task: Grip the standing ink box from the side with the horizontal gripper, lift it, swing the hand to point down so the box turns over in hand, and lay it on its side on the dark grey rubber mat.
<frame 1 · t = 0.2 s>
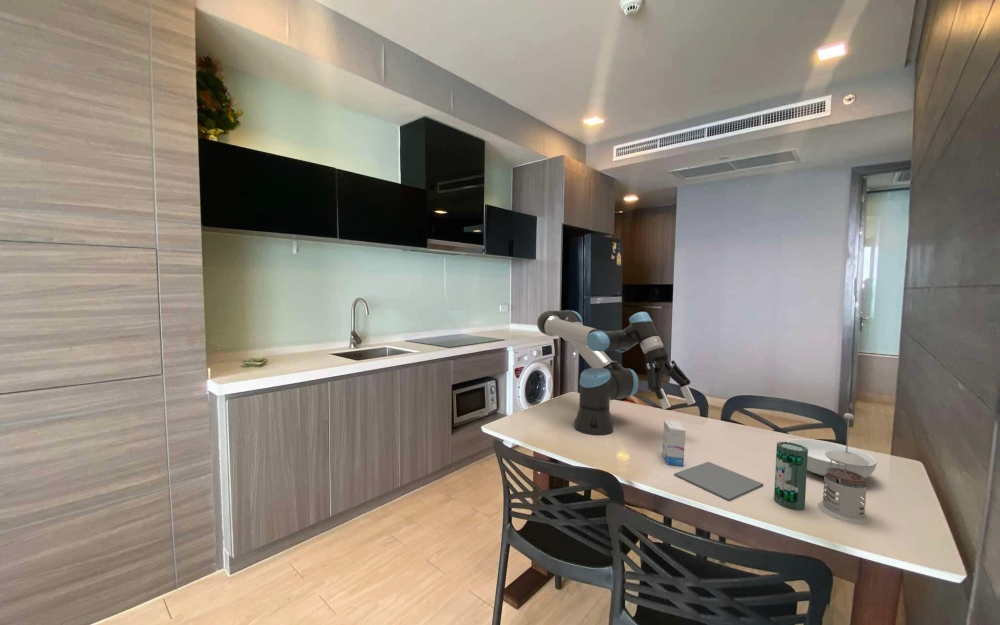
hand: (679, 406, 133), 15 cm above the table, tool tilted 35°, fingers open, 13 cm apart
serving bowl: (827, 473, 117), on the table
can: (789, 504, 99), on the table
french press: (841, 511, 96), on the table
ink box: (672, 460, 124), on the table
rubber mat: (717, 480, 110), on the table
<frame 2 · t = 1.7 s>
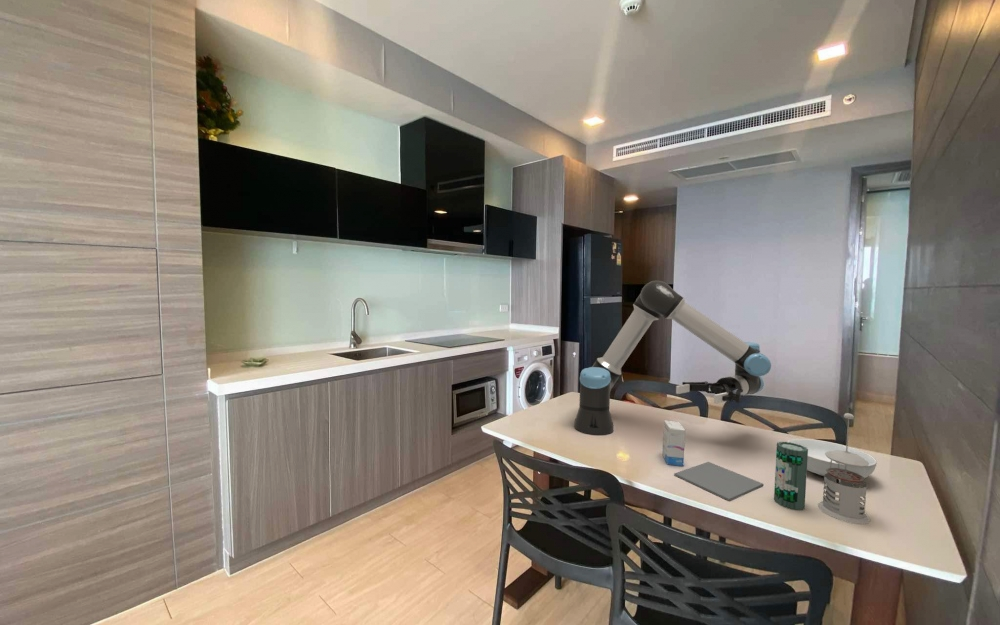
hand: (695, 394, 128), 20 cm above the table, tool horizontal, fingers open, 13 cm apart
nothing on the table moved.
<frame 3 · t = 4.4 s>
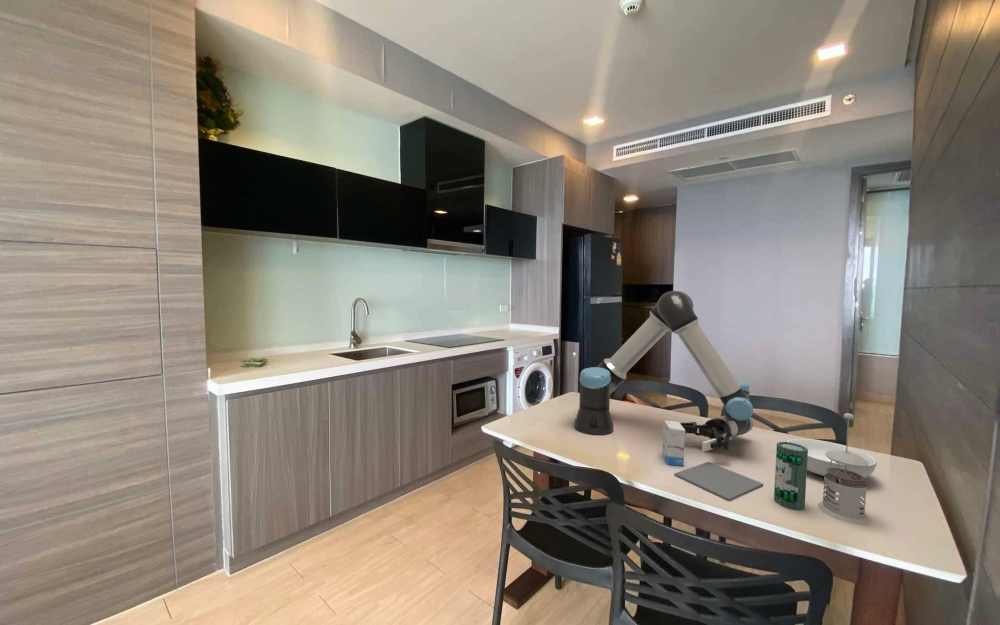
hand: (683, 439, 125), 6 cm above the table, tool horizontal, fingers open, 13 cm apart
nothing on the table moved.
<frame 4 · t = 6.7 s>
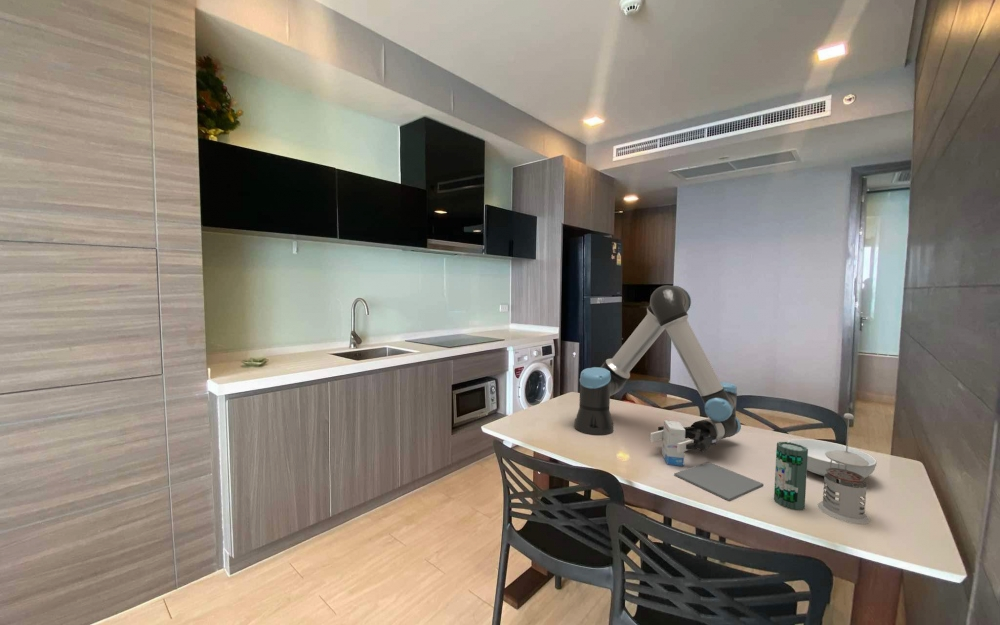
hand: (664, 442, 121), 7 cm above the table, tool horizontal, fingers closed on ink box, 9 cm apart
ink box: (672, 460, 124), on the table, touching gripper
everything else where it was.
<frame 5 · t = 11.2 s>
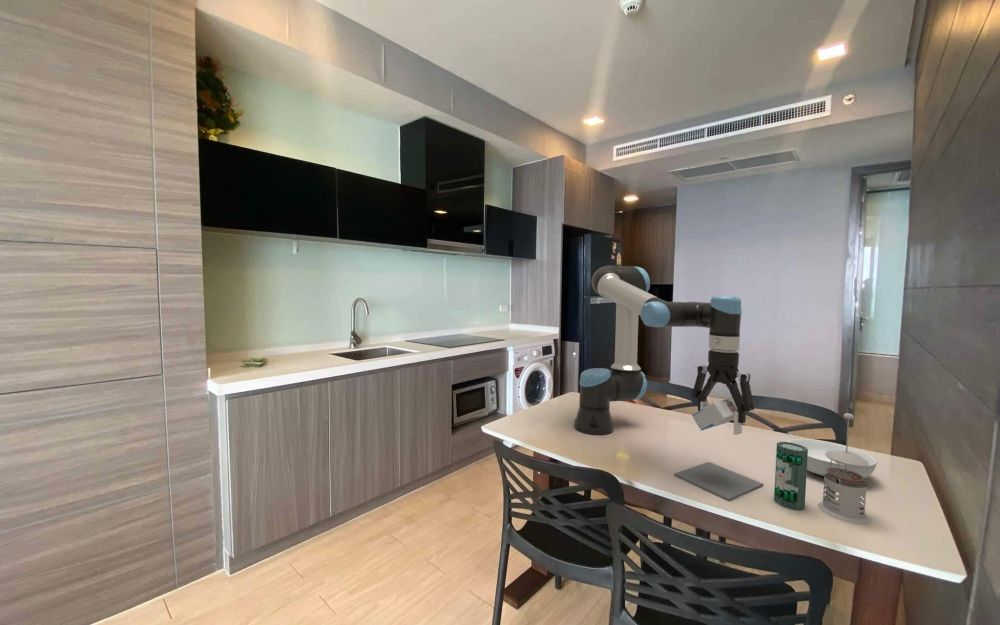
hand: (719, 428, 110), 15 cm above the table, tool pointing down, fingers closed on ink box, 9 cm apart
ink box: (706, 416, 106), point 20 cm above the table, touching gripper
everything else where it was.
when the fingers open (2 cm above the table, at t = 14.8 s): ink box drops 3 cm, resting on rubber mat.
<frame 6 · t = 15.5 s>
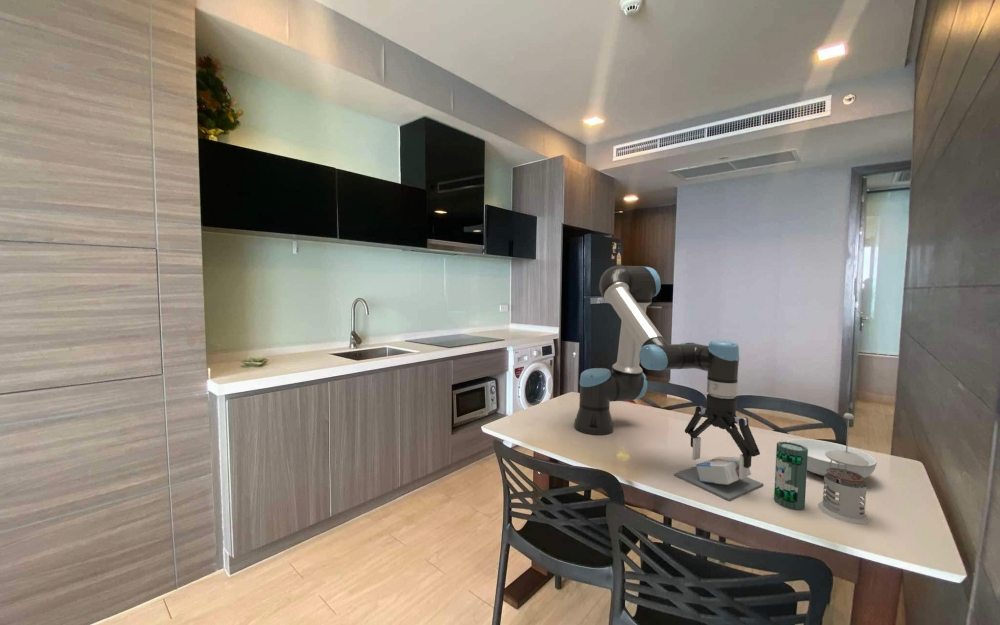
hand: (718, 467, 110), 4 cm above the table, tool pointing down, fingers open, 13 cm apart
ink box: (710, 473, 105), point 4 cm above the table, touching gripper, rubber mat
everything else where it was.
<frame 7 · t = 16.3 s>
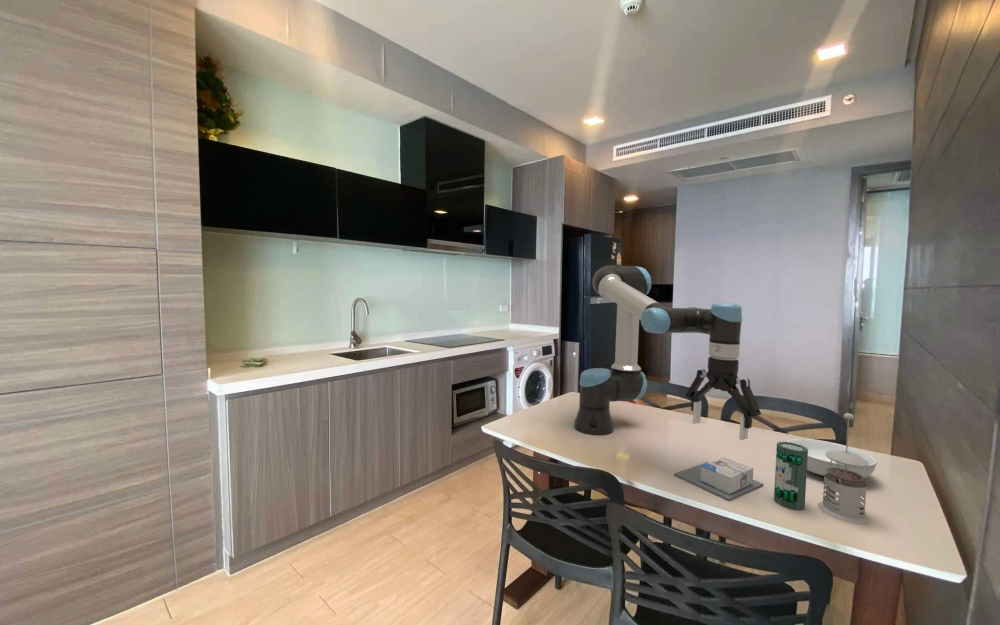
hand: (718, 430, 110), 15 cm above the table, tool pointing down, fingers open, 13 cm apart
ink box: (714, 479, 105), point 3 cm above the table, touching rubber mat
everything else where it was.
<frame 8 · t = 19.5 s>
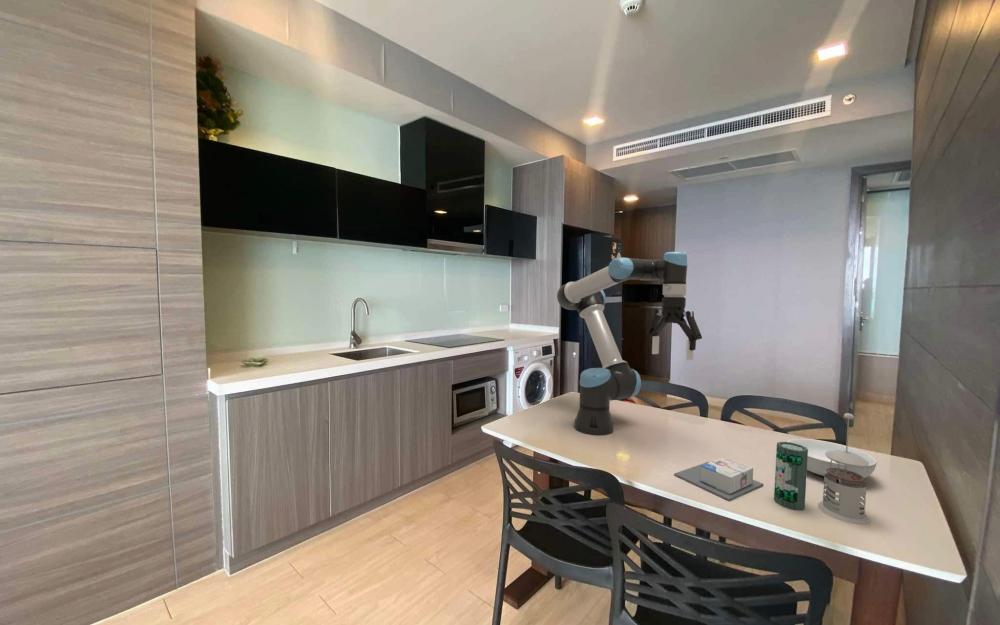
hand: (671, 356, 135), 32 cm above the table, tool pointing down, fingers open, 13 cm apart
nothing on the table moved.
at the end: ink box tilted 91°; ink box inside the target area (8.6 cm from its centre), point 3.2 cm above the table; the gripper is holding nothing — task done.
